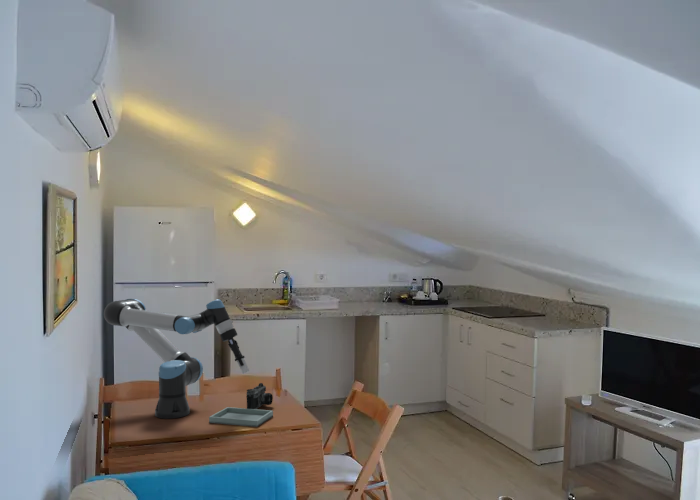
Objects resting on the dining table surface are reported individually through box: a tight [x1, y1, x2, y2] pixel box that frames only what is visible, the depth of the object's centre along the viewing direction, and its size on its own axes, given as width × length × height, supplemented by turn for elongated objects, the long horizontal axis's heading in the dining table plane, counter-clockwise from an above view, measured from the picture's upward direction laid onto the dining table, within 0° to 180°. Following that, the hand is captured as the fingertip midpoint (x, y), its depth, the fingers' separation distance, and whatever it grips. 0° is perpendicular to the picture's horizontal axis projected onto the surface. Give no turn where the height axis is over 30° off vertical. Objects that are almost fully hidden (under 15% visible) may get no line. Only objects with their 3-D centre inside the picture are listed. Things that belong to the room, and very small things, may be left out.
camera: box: [245, 382, 274, 409], centre depth 280 cm, size 18×9×10 cm, turn 168°
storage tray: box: [208, 406, 274, 428], centre depth 259 cm, size 23×17×2 cm
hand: (246, 372), depth 274 cm, fingers open, 13 cm apart
